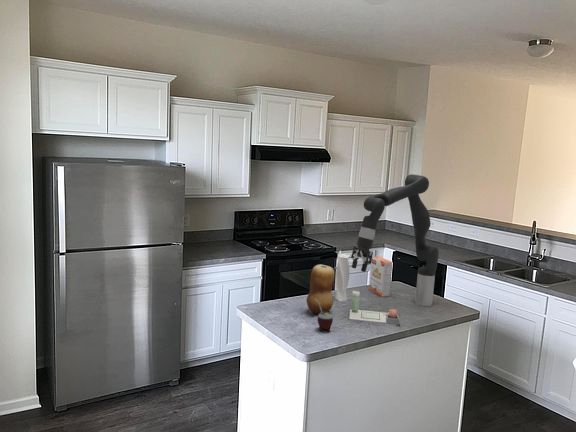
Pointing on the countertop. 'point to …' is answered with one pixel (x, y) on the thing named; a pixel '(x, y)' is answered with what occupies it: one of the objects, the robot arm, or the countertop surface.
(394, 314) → the button
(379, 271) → the cracker box
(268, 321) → the countertop surface
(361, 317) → the white flat board
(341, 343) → the countertop surface
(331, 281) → the butternut squash
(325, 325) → the mate gourd
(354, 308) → the marker
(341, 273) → the skyscraper
